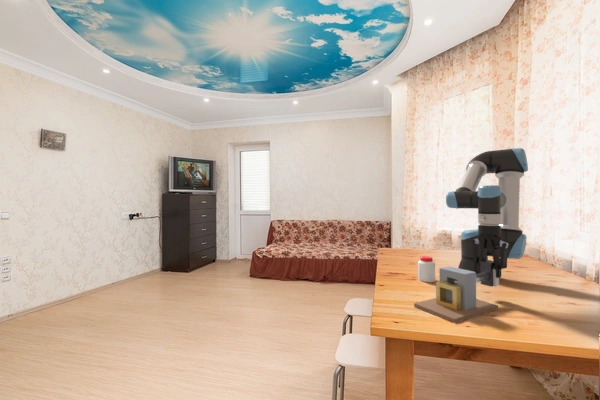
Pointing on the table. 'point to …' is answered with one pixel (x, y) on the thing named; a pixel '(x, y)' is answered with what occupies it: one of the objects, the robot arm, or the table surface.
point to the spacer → (455, 295)
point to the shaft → (483, 273)
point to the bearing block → (469, 301)
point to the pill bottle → (426, 269)
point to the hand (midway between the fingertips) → (489, 283)
